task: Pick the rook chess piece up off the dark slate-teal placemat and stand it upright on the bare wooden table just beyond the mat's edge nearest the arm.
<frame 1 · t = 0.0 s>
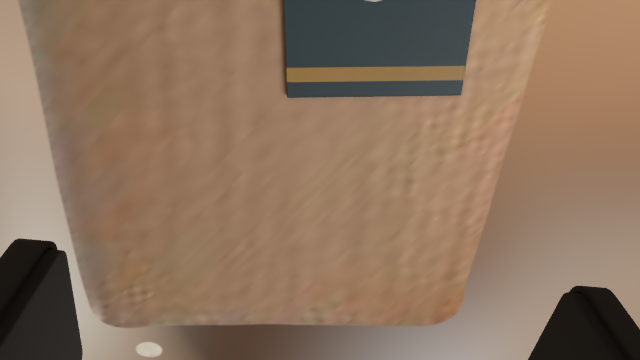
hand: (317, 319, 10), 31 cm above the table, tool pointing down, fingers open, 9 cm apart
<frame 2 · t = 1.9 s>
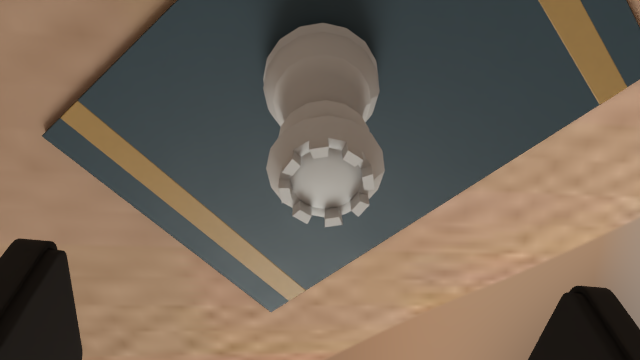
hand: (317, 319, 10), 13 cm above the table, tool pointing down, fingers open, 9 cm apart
rook chess piece: (320, 74, 20), resting on placemat
placemat: (341, 99, 21), on the table
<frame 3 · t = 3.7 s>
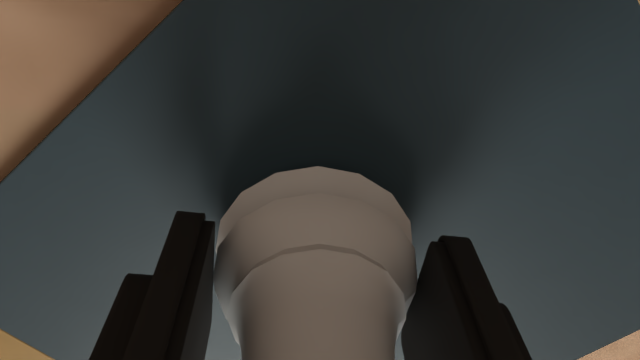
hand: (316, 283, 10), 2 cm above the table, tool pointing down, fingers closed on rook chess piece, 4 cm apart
rook chess piece: (314, 232, 12), resting on placemat, touching gripper
placemat: (348, 264, 13), on the table
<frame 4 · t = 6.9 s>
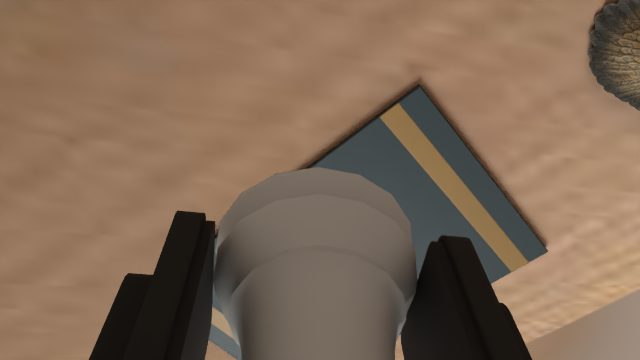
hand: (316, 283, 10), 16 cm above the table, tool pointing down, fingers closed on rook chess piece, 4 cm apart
rook chess piece: (314, 233, 12), point 14 cm above the table, touching gripper
placemat: (341, 269, 31), on the table
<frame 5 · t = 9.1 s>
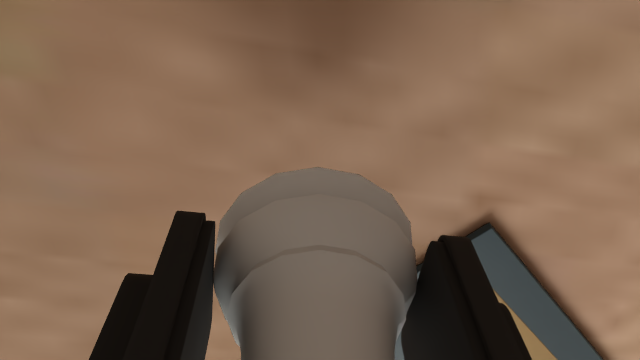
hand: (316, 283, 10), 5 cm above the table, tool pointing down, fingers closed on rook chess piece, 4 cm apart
rook chess piece: (314, 233, 12), point 3 cm above the table, touching gripper
when the fingers open (2 cm above the table, at t = 10.4 s): rook chess piece stays where it is, on the table.
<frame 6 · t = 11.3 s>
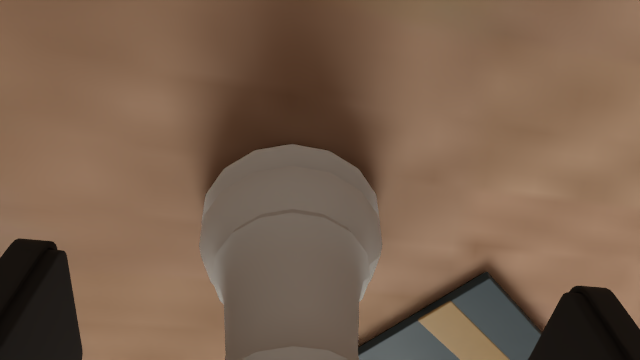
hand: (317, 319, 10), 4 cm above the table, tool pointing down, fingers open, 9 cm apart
rook chess piece: (291, 207, 13), on the table
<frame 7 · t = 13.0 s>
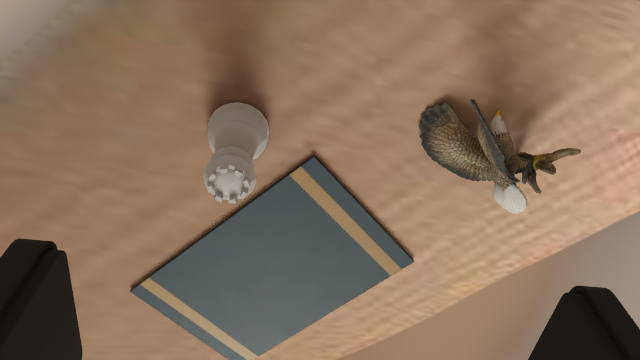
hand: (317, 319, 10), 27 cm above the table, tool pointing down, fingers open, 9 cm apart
rook chess piece: (239, 126, 37), on the table
placemat: (272, 274, 45), on the table
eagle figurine: (478, 131, 38), on the table
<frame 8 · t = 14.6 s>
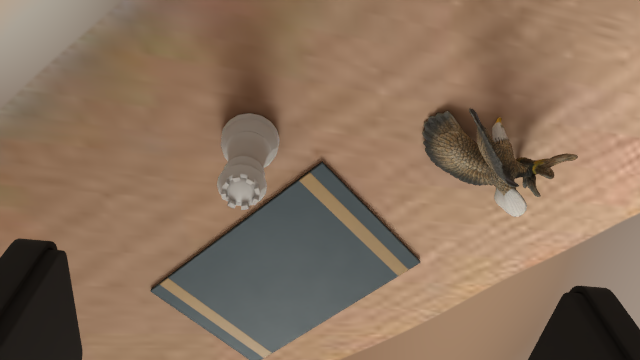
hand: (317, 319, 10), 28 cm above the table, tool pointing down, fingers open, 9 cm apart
rook chess piece: (251, 135, 39), on the table
placemat: (284, 274, 47), on the table
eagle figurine: (479, 137, 40), on the table
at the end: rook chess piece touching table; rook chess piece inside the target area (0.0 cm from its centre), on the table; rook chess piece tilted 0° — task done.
